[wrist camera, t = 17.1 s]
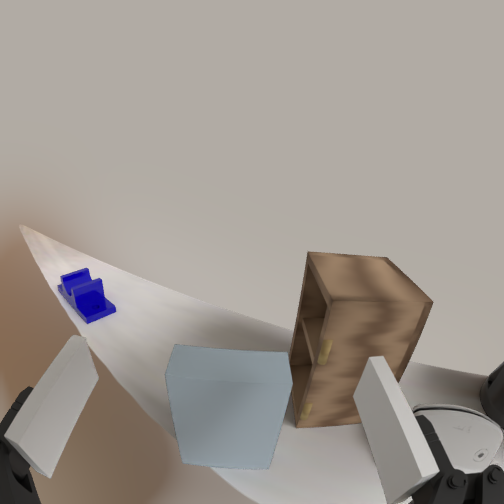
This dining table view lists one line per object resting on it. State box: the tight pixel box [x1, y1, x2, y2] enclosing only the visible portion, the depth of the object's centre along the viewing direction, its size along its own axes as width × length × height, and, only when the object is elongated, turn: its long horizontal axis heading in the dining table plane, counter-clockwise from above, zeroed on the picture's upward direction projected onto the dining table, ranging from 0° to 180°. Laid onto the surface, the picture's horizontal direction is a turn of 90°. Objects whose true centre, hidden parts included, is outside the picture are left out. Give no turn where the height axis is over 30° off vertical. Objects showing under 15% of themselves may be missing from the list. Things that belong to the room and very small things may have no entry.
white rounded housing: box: [412, 404, 503, 474], centre depth 23 cm, size 17×5×10 cm, turn 56°
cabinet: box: [289, 252, 433, 428], centre depth 35 cm, size 12×14×20 cm
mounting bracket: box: [58, 268, 116, 324], centre depth 55 cm, size 18×7×6 cm, turn 55°
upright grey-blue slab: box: [165, 344, 293, 469], centre depth 26 cm, size 10×5×16 cm, turn 91°
